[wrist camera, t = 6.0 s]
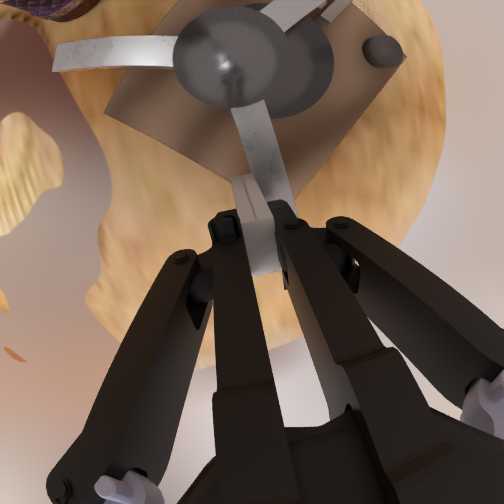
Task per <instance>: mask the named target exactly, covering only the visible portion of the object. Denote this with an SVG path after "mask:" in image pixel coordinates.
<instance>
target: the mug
mask: <svg viewBox="0 0 504 504" xmlns="http://www.w3.org/2000/svg"><path fill="white" fill-rule="evenodd" d="M98 1H99V0H0V3H1V4H5V5H9V6H12V7H16V8H19V9H22V10H25V11H28V12H30V13H31V14H32V15H34V16H37V17H40V18H43V19H47V20H48V19H50V20H53V21H57V22H67V21H70V20H72V19H75V18H78V17H79V16H81V15H82V14H84V13H85V12H87V11H88V10H89V9H90V8H91V7H93V6H94V5H95V4H96V3H97V2H98Z"/></svg>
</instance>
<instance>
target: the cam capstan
mask: <svg viewBox="0 0 504 504" xmlns="http://www.w3.org/2000/svg"><path fill="white" fill-rule="evenodd" d="M326 1H327V0H274V1H273V2H271V3H254V4H248V5H245V6H241V7H240V6H226V7H219V8H215V9H212V10H209V11H206V12H204V13H202V14H200V15H199V16H197V17H195V18H194V19H193V20H192V21H190V22H189V23H188V24H187V25H186V26H185V27H184V28H183V30H182V31H181V33H180V34H179V36H148V35H146V36H116V37H103V38H94V39H86V40H79V41H72V42H66V43H61V44H58V45H57V49H56V53H55V58H54V63H53V68H52V71H53V72H73V71H83V70H95V69H116V68H146V69H168V70H174V71H175V75H176V77H177V79H178V81H179V82H180V84H181V85H182V87H183V88H184V89H185V90H186V91H187V92H188V93H189V94H190V95H192V96H193V97H195V98H196V99H198V100H200V101H202V102H204V103H206V104H209V105H212V106H216V107H222V108H230V111H231V114H232V117H233V120H234V122H235V125H236V128H237V131H238V134H239V137H240V140H241V142H242V145H243V148H244V151H245V154H246V157H247V160H248V163H249V166H250V169H251V172H252V174H253V176H254V178H255V181H256V182H257V184H258V186H259V188H260V190H261V192H262V194H263V197H264V199H265V201H266V202H268V201H273V200H279V199H282V200H284V201H286V202H287V203H288V204H289V206H290V207H291V209H292V210H293V212H294V213H295V215H296V216H297V218H298V215H297V211H296V207H295V203H294V199H293V195H292V192H291V188H290V184H289V181H288V177H287V174H286V170H285V166H284V163H283V160H282V156H281V153H280V149H279V146H278V143H277V139H276V136H275V133H274V129H273V126H272V123H271V120H270V119H277V118H285V117H290V116H293V115H296V114H299V113H301V112H303V111H305V110H307V109H308V108H310V107H311V106H313V105H314V104H315V103H316V102H318V101H319V99H320V98H321V97H322V96H323V95H324V93H325V92H326V90H327V89H328V87H329V85H330V83H331V80H332V77H333V71H334V56H333V51H332V47H331V45H330V42H329V40H328V38H327V36H326V35H325V33H324V32H323V30H322V29H321V28H320V26H319V25H318V24H317V23H316V22H315V21H314V20H312V19H311V18H310V17H309V16H307V14H309V13H310V12H311V11H313V10H314V9H316V8H317V7H318V6H320V5H321V4H323V3H324V2H326Z"/></svg>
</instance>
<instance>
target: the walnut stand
mask: <svg viewBox="0 0 504 504" xmlns="http://www.w3.org/2000/svg"><path fill="white" fill-rule="evenodd" d="M273 1H274V0H179V1H178V2H177V3H176V4H175V6H174V7H173V8H172V9H171V10H170V11H169V13H168V14H167V15H166V16H165V18H164V19H163V20H162V21H161V23H160V24H159V25H158V26H157V28H156V29H155V30H154V32H153V33H152V34H151V36H179V34H180V33H181V31H182V30H183V28H184V27H185V26H186V25H187V24H188V23H189V22H190V21H192V20H193V19H194V18H195V17H197V16H199V15H200V14H202V13H204V12H206V11H209V10H212V9H215V8H219V7H226V6H240V7H241V6H245V5H248V4H254V3H271V2H273ZM352 1H353V0H327V1H326V2H324V3H323V4H321V5H320V6H318V7H317V8H316V9H314V10H313V11H311V12H310V13H309V14H307V16H309V17H310V18H311V19H312V20H314V21H315V22H316V23H317V24H318V25H319V26H320V28H321V29H322V30H323V32H324V33H325V35H326V36H327V38H328V40H329V42H330V45H331V47H332V51H333V56H334V71H333V77H332V80H331V83H330V85H329V87H328V89H327V90H326V92H325V93H324V95H323V96H322V97H321V98H320V99H319V101H318V102H316V103H315V104H314V105H313V106H311V107H310V108H308V109H307V110H305V111H303V112H301V113H299V114H296V115H293V116H290V117H285V118H277V119H270V120H271V123H272V126H273V129H274V133H275V136H276V139H277V143H278V146H279V149H280V153H281V156H282V160H283V163H284V166H285V170H286V174H287V177H288V181H289V184H290V188H291V192H292V195H293V199H294V200H295V199H296V198H297V197H298V195H299V194H300V193H301V191H302V190H303V189H304V188H305V186H306V185H307V184H308V183H309V181H310V180H311V179H312V177H313V176H314V175H315V174H316V172H317V171H318V170H319V169H320V167H321V166H322V165H323V163H324V162H325V161H326V160H327V158H328V157H329V156H330V154H331V153H332V152H333V151H334V149H335V148H336V147H337V146H338V144H339V143H340V142H341V140H342V139H343V138H344V137H345V135H346V134H347V133H348V132H349V130H350V129H351V128H352V126H353V125H354V124H355V123H356V121H357V120H358V119H359V117H360V116H361V115H362V114H363V112H364V111H365V110H366V109H367V107H368V106H369V105H370V103H371V102H372V101H373V100H374V98H375V97H376V96H377V94H378V93H379V92H380V91H381V89H382V88H383V87H384V85H385V84H386V83H387V82H388V80H389V79H390V78H391V77H392V75H393V74H394V73H395V71H396V70H397V69H398V68H399V66H400V65H401V64H402V62H403V61H404V60H405V59H406V57H407V56H406V55H405V54H404V53H403V51H402V48H401V46H400V44H399V43H398V42H397V41H396V40H395V39H394V38H392V37H391V36H388V35H386V34H385V33H384V32H383V31H382V30H381V29H380V28H379V27H378V26H377V25H376V24H375V23H374V22H373V21H372V20H371V19H370V18H369V17H368V16H367V15H365V14H364V13H363V12H362V11H361V10H360V9H359V8H357V7H356V6H355V5H354V4H353V3H351V2H352ZM104 114H106V115H108V116H110V117H112V118H114V119H116V120H118V121H120V122H122V123H124V124H126V125H128V126H130V127H132V128H134V129H136V130H138V131H140V132H142V133H144V134H146V135H147V136H149V137H151V138H153V139H155V140H157V141H159V142H160V143H162V144H164V145H166V146H168V147H170V148H171V149H173V150H175V151H177V152H179V153H181V154H182V155H184V156H186V157H188V158H189V159H191V160H193V161H195V162H196V163H198V164H200V165H202V166H203V167H205V168H207V169H209V170H210V171H212V172H214V173H216V174H217V175H219V176H221V177H222V178H224V179H226V180H227V181H229V182H231V177H236V176H241V175H246V174H251V173H252V172H251V169H250V166H249V163H248V160H247V157H246V154H245V151H244V148H243V145H242V142H241V140H240V137H239V134H238V131H237V128H236V125H235V122H234V120H233V117H232V114H231V111H230V108H222V107H216V106H212V105H209V104H206V103H204V102H202V101H200V100H198V99H196V98H195V97H193V96H192V95H190V94H189V93H188V92H187V91H186V90H185V89H184V88H183V87H182V85H181V84H180V82H179V81H178V79H177V77H176V75H175V71H174V70H168V69H146V68H128V70H127V72H126V73H125V75H124V77H123V78H122V80H121V82H120V83H119V85H118V87H117V89H116V90H115V92H114V94H113V96H112V98H111V100H110V102H109V103H108V105H107V107H106V109H105V111H104Z"/></svg>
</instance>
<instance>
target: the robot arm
mask: <svg viewBox="0 0 504 504" xmlns="http://www.w3.org/2000/svg"><path fill="white" fill-rule="evenodd" d="M231 183H232V188H233V193H234V198H235V203H236V208H237V209H232V210H228V211H223V212H218V214H217V215H216V216H215V218H213V219H211V220H210V221H209V223H208V228H209V232H210V236H211V239H212V247H211V248H210V249H209V250H207V251H205V252H203V253H201V254H199V255H197V253H196V252H195V251H194V250H191V249H184V250H179V251H176V252H175V253H173V254H172V255H170V256H169V257H168V259H167V260H166V262H165V263H164V265H163V267H162V269H161V270H160V272H159V274H158V276H157V277H156V279H155V281H154V283H153V284H152V286H151V288H150V290H149V292H148V293H147V295H146V297H145V299H144V301H143V303H142V304H141V306H140V308H139V310H138V312H137V314H136V316H135V318H134V319H133V321H132V323H131V325H130V327H129V329H128V331H127V333H126V335H125V337H124V339H123V341H122V343H121V345H120V347H119V349H118V352H117V354H116V355H115V357H114V360H113V362H112V364H111V366H110V368H109V370H108V373H107V375H106V377H105V379H104V381H103V383H102V386H101V388H100V390H99V392H98V395H97V397H96V399H95V402H94V404H93V407H92V409H91V411H90V414H89V416H88V419H87V421H86V424H85V426H84V429H83V431H82V433H81V434H80V435H79V436H78V438H77V439H76V440H75V442H74V443H73V444H72V445H71V447H70V448H69V449H68V450H67V452H66V453H65V454H64V455H63V457H62V458H61V459H60V460H59V462H58V463H57V464H56V466H55V467H54V468H53V469H52V471H51V472H50V474H49V475H48V477H47V482H46V489H47V494H48V496H49V498H50V500H51V502H52V503H53V504H164V502H165V501H164V498H163V496H162V493H161V491H160V489H159V488H158V485H159V483H160V482H161V480H162V478H163V475H164V473H165V471H166V468H167V465H168V463H169V459H170V456H171V452H172V448H173V445H174V441H175V437H176V433H177V429H178V426H179V421H180V418H181V414H182V411H183V407H184V403H185V400H186V396H187V392H188V388H189V385H190V381H191V378H192V374H193V371H194V367H195V364H196V360H197V357H198V353H199V350H200V346H201V343H202V339H203V336H204V333H205V329H206V326H207V322H208V319H209V316H210V312H211V309H212V306H213V308H214V335H215V356H216V374H217V391H216V392H214V393H213V398H212V410H213V425H214V438H215V449H216V456H215V457H213V458H212V459H211V461H209V463H207V465H206V466H205V467H204V468H203V470H202V471H201V473H200V474H199V475H198V476H197V478H196V479H195V480H194V482H193V483H192V484H191V486H190V487H189V488H188V490H187V491H186V492H185V494H184V495H183V496H182V497H181V499H180V500H179V501H178V503H177V504H504V329H502V328H500V327H499V326H498V325H497V324H496V323H494V322H493V321H492V320H491V319H490V318H489V317H488V316H487V315H485V314H484V313H483V312H482V311H481V310H480V309H478V308H477V307H476V306H475V305H473V304H472V303H471V302H470V301H469V300H467V299H466V298H465V297H464V296H462V295H461V294H460V293H459V292H457V291H456V290H455V289H453V288H452V287H451V286H450V285H448V284H447V283H446V282H444V281H443V280H442V279H440V278H439V277H438V276H436V275H435V274H434V273H432V272H431V271H429V270H428V269H427V268H425V267H424V266H423V265H421V264H420V263H418V262H417V261H416V260H414V259H413V258H411V257H410V256H408V255H407V254H406V253H404V252H403V251H401V250H400V249H398V248H397V247H395V246H394V245H392V244H391V243H389V242H388V241H386V240H385V239H383V238H382V237H380V236H379V235H377V234H375V233H374V232H372V231H371V230H369V229H368V228H366V227H364V226H363V225H361V224H360V223H358V222H356V221H355V220H353V219H351V218H348V217H344V216H338V217H334V218H331V219H329V220H328V221H327V222H326V228H311V227H310V226H309V225H308V223H307V222H306V221H305V220H303V219H300V218H297V216H296V215H295V213H294V212H293V210H292V209H291V207H290V206H289V204H288V203H287V202H286V201H284V200H282V199H279V200H273V201H268V202H266V201H265V199H264V197H263V194H262V192H261V190H260V188H259V186H258V184H257V182H256V181H255V178H254V176H253V174H252V173H251V174H246V175H241V176H236V177H231ZM355 260H356V261H357V262H358V264H359V266H358V265H357V264H355ZM280 265H281V268H282V274H283V282H284V290H288V293H289V295H290V298H291V301H292V304H293V306H294V309H295V312H296V315H297V318H298V320H299V323H300V326H301V329H302V332H303V334H304V337H305V340H306V343H307V346H308V349H309V352H310V354H311V357H312V360H313V363H314V366H315V369H316V372H317V375H318V378H319V381H320V383H321V387H322V389H323V393H324V395H325V399H326V402H327V405H328V409H329V417H330V421H329V422H327V423H326V424H324V425H322V426H318V427H284V423H283V418H282V414H281V409H280V405H279V400H278V396H277V392H276V387H275V382H274V377H273V373H272V368H271V364H270V359H269V354H268V350H267V345H266V340H265V336H264V331H263V326H262V322H261V317H260V312H259V307H258V303H257V298H256V293H255V289H254V284H253V279H252V277H254V276H258V275H263V274H268V273H273V272H277V271H281V269H280ZM367 317H368V318H369V319H370V320H371V321H372V322H373V323H374V324H375V325H376V326H377V327H378V328H379V329H380V330H381V331H382V332H383V333H384V334H385V335H386V336H387V337H388V338H389V339H390V340H391V342H392V343H393V344H394V345H395V346H396V347H397V348H398V349H399V350H400V351H401V352H402V353H403V354H404V355H405V356H406V357H407V358H408V359H409V360H410V361H411V362H412V363H413V365H414V366H415V367H416V368H417V369H418V370H419V371H420V372H421V373H422V374H423V375H424V376H425V377H426V378H427V380H428V381H429V382H430V383H431V384H432V385H433V386H434V387H435V388H436V389H437V390H438V391H439V392H440V393H441V394H442V395H443V396H444V397H445V398H446V399H447V400H449V401H450V402H451V403H453V404H454V405H455V406H457V407H459V408H460V409H462V412H463V413H462V414H461V417H460V421H459V420H456V419H454V418H452V417H450V416H447V415H446V414H444V413H441V412H439V411H437V410H435V409H433V408H431V407H429V405H428V403H427V401H426V399H425V397H424V395H423V394H422V392H421V390H420V388H419V386H418V384H417V382H416V380H415V378H414V377H413V375H412V373H411V371H410V369H409V367H408V366H407V364H406V362H405V360H404V359H403V357H402V355H401V354H400V352H399V351H398V350H397V349H395V348H394V347H389V348H386V347H385V346H384V345H383V344H382V342H381V340H380V339H379V337H378V335H377V333H376V331H375V330H374V328H373V326H372V324H371V323H370V321H369V319H368V318H367Z"/></svg>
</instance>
